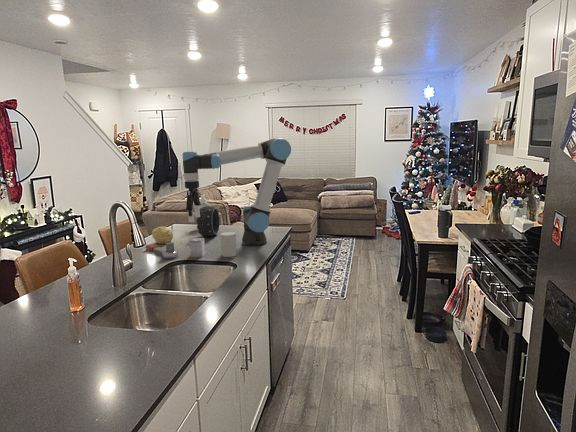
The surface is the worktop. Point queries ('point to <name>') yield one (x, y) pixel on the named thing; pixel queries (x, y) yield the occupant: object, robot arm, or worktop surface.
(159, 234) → the sculpture
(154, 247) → the ratchet
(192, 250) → the frosted translucent cube
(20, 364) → the worktop surface
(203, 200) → the soap bottle
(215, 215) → the ring
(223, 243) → the cup
